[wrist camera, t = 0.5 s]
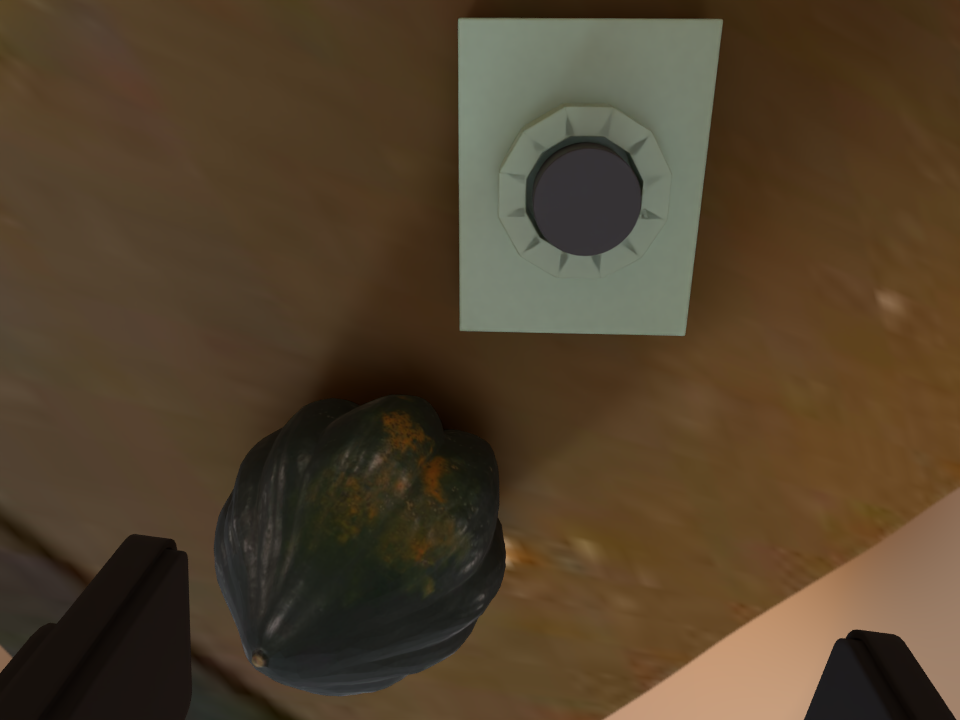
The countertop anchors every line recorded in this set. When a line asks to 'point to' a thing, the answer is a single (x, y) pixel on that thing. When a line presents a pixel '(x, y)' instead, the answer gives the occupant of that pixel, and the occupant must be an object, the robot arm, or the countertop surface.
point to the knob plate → (568, 120)
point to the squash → (360, 544)
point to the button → (586, 199)
